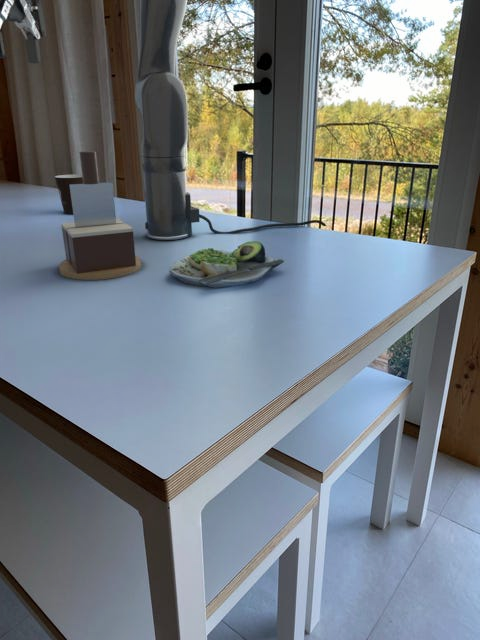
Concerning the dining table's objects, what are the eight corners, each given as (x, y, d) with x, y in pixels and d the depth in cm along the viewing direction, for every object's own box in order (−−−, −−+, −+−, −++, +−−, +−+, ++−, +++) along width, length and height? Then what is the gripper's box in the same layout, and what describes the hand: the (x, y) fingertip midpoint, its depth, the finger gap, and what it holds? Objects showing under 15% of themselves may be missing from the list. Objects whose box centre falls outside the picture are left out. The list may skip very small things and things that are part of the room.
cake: (128, 254, 94) (124, 215, 91) (151, 272, 82) (148, 229, 79) (53, 263, 87) (47, 222, 84) (67, 284, 76) (60, 238, 73)
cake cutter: (114, 222, 84) (107, 150, 80) (118, 224, 82) (111, 151, 78) (73, 225, 81) (63, 151, 77) (76, 228, 79) (66, 152, 75)
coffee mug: (86, 215, 131) (81, 177, 127) (55, 215, 131) (49, 177, 127) (98, 208, 142) (94, 173, 138) (69, 208, 142) (65, 173, 138)
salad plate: (252, 301, 69) (252, 270, 68) (147, 286, 75) (144, 258, 74) (289, 266, 86) (290, 241, 84) (200, 256, 92) (200, 232, 90)
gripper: (-18, -71, 70) (4, 55, 76) (48, -42, 82) (61, 64, 88) (-57, -65, 72) (-33, 56, 78) (13, -38, 84) (29, 65, 91)
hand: (17, 60), depth 83 cm, fingers open, 8 cm apart
